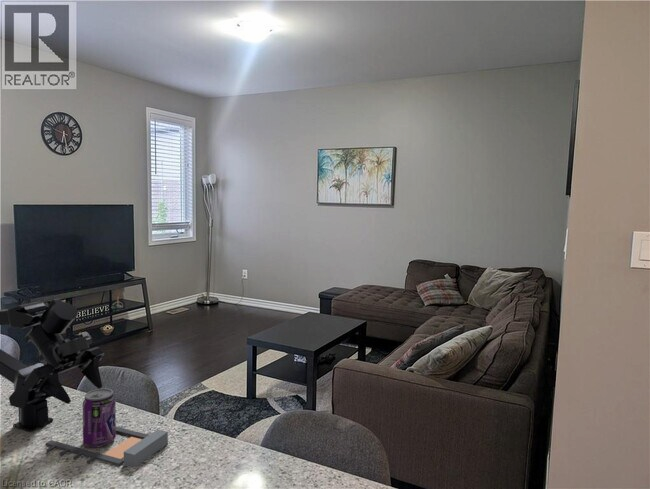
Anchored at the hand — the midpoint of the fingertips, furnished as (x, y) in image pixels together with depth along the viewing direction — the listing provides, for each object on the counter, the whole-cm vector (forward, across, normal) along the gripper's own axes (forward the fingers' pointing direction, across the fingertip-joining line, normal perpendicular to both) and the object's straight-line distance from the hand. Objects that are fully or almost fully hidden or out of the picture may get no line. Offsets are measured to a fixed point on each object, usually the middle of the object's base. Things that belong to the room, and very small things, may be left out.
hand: (85, 394), depth 111 cm
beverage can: (+11, 0, +5) cm, 12 cm away
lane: (+13, -1, +3) cm, 13 cm away
